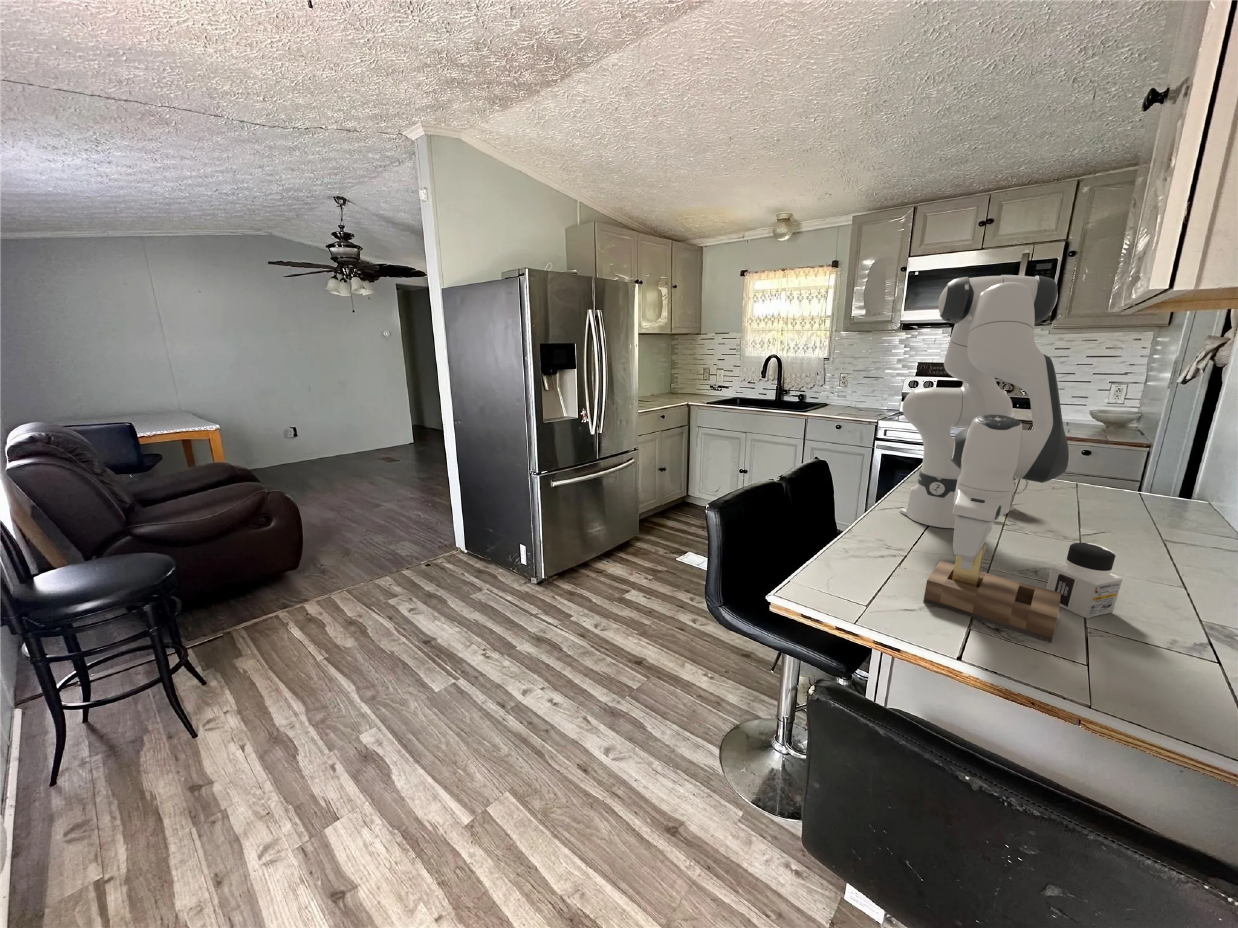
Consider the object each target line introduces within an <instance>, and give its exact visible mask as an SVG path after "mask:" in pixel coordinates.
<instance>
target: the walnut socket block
mask: <svg viewBox="0 0 1238 928" xmlns="http://www.w3.org/2000/svg"><path fill="white" fill-rule="evenodd" d="M954 566H955V563H950V562H946V561H943V560H940V561H939V562H938V564H937V565H936V567H935V568H934V570H933V571H931V573H930V575H929V576H928V578H927V579H926V584H925V585H926V586H925V589H924V594H923V595H924V596H923V603H926V604H928V605H932V606H935V607H938V608H941V609H945V610H947V611H949V612H954V613H957V614H959V615H963V616H967V617H969V618H973V619H975V620H978V621H982V622H985V623H987V624H991V625H994V626H997V627H1000V628H1003V629H1006V630H1010V631H1013V632H1014V633H1015V632H1016V633H1019V634H1022V635H1025V636H1029V637H1031V638H1035V639H1038V640H1041V641H1043V642H1047V643H1049V644H1051V643H1052V642H1053V641H1052V640H1053V637H1054V634H1055V629H1056V626H1057V622H1058V617H1059V610H1060V606H1059V605H1060V598H1061V593H1060V592H1056V591H1052V590H1048V589H1046V588H1044V587H1041V586H1040V587H1039V586H1036V585H1034V584H1029V583H1025V582H1021V581H1017V580H1014V579H1009V578H1006V577H1003V576H999V575H995V574H991V573H989V572H988V573H987V572H985V571H981V573H980V578H979V581H978V583H977V585H976V587H974V586H971V585H967V584H964V583H960V582H956V581H953V580H952V577H953V572H954Z"/></svg>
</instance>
